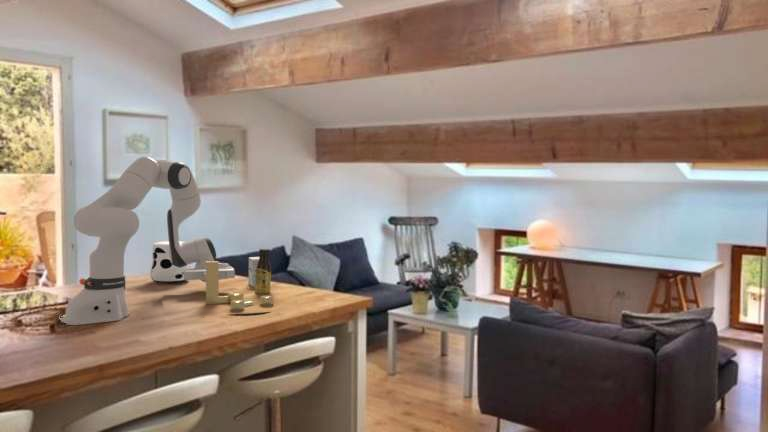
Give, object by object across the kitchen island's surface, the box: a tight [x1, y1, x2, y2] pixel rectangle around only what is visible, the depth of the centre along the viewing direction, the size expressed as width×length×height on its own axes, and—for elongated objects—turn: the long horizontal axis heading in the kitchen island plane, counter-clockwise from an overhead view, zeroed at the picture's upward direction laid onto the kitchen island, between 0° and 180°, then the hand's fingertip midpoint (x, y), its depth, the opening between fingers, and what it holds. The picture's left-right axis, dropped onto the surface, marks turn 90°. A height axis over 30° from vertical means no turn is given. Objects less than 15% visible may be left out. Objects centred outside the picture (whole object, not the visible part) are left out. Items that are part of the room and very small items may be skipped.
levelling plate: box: [228, 295, 274, 317], centre depth 240 cm, size 22×22×4 cm
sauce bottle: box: [254, 247, 272, 295], centre depth 265 cm, size 6×6×20 cm
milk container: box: [150, 240, 191, 284], centre depth 292 cm, size 17×17×18 cm
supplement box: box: [248, 256, 260, 288], centre depth 288 cm, size 7×7×13 cm
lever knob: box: [205, 261, 245, 305], centre depth 243 cm, size 14×6×16 cm, turn 111°
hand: (210, 276), depth 252 cm, fingers closed
